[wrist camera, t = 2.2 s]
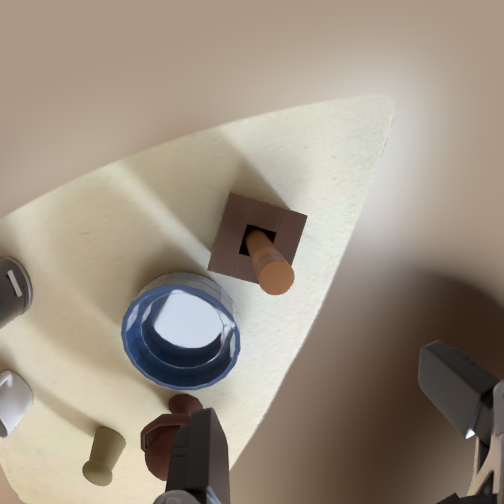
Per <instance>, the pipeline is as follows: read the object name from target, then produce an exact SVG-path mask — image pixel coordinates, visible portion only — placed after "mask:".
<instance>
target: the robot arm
mask: <svg viewBox="0 0 504 504" xmlns="http://www.w3.org/2000/svg"><path fill="white" fill-rule="evenodd" d="M31 301H32V287H31V283H30V280H29V277H28V275H27V273H26V271H25V269H24V268H23V266H22V265H21V264H20V263H19V262H18V261H17V260H15V259H13V258H11V257H2V258H0V329H1V328H3V327H4V326H5V325H7V324H8V323H9V322H11V321H12V320H14V319H15V318H16V317H18V316H19V315H21V314H23V313H24V312H26V311H27V310H28V309H29V307H30V305H31ZM418 382H419V385H420V388H421V389H422V391H423V392H424V393H425V394H426V396H427V397H428V398H429V399H430V400H431V401H432V402H433V403H434V405H436V407H437V408H438V409H439V410H440V411H441V412H442V414H443V415H444V416H445V417H446V418H447V419H448V420H449V422H450V423H451V424H452V425H453V426H454V427H455V428H456V430H457V431H458V432H459V433H460V434H461V435H462V437H463V438H464V439H465V440H466V439H467V438H469V437H470V436H472V435H473V434H476V435H477V436H478V437H477V440H476V449H475V461H474V470H473V478H472V483H471V486H470V489H469V491H468V495H467V497H462V498H459V497H458V496H457V494H456V493H454V494H452V495H451V496H449V497H447V498H446V499H444V500H442V501H440V502H438V503H437V504H504V380H502V381H501V380H500V379H499V378H498V377H496V376H495V375H494V374H493V373H491V372H490V371H489V370H488V369H486V368H485V367H484V366H482V365H481V364H480V363H478V362H477V361H476V360H475V359H473V358H471V356H469V355H468V354H467V353H466V352H464V351H463V350H461V349H458V348H455V347H450V348H449V347H448V346H447V345H445V344H444V343H443V342H442V341H440V340H436V341H434V342H432V343H429V344H427V345H425V346H423V347H422V348H421V349H420V360H419V373H418ZM172 448H173V449H172V451H171V458H170V463H169V470H168V476H167V483H166V489H165V493H163V494H161V495H160V496H159V497H157V498H156V500H155V501H154V503H153V504H230V487H229V486H230V485H229V460H228V445H227V440H226V437H225V434H224V432H223V429H222V427H221V425H220V422H219V420H218V417H217V415H216V413H215V410H214V409H213V408H206V409H199V410H193V411H192V412H191V420H190V424H189V425H181V426H180V428H179V429H178V431H177V432H176V434H175V435H174V439H173V445H172Z"/></svg>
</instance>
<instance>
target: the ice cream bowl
mask: <svg viewBox="0 0 504 504" xmlns="http://www.w3.org/2000/svg"><path fill="white" fill-rule="evenodd" d="M202 408H203V406H202V404H201V403H200V401H199V400H198V399H197V398H195V397H193V396H190V395H188V394H181V395H175V396H174V397H173V398H171V399H170V400H169V410H170V411H171V413H172V414H162V415H161V416H159V417H158V418H156V419H155V420H153V421H152V422H151V423H149V424H148V425H147V426H145V427H144V429H143V430H142V432H141V449H142V450H143V451H144V452H145V461H146V465H147V467H148V470H149V471H150V472H151V473H152V474H153V475H154V476H155V477H157V478H159V479H160V480H162V481H167V476H168V470H169V463H170V458H171V451H172V449H173V448H172V445H173V439H174V435H175V434H176V432H177V431H178V429H179V428H180V426H181V425H189V424H190V420H191V412H192V411H193V410H199V409H202Z"/></svg>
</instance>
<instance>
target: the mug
mask: <svg viewBox="0 0 504 504" xmlns="http://www.w3.org/2000/svg"><path fill="white" fill-rule="evenodd" d="M33 401H34V397H33V393H32V391H31V389H30V387H29V386H28V384H27V383H26V382H25V380H24V379H23V378H22V377H20V376H19V375H18V374H16V373H15V372H13V371H10V370H5V371H3V372H2V373H1V374H0V437H2V438H7V437H8V436H9V435H10V434H11V432H12V431H13V430H14V428H15V427H16V425H17V424H18V423H19V421H20V420H21V419H22V417H23V416H24V414H25V413H26V412H27V411H28V409H29V408H30V407H31V406H32V404H33Z"/></svg>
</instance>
